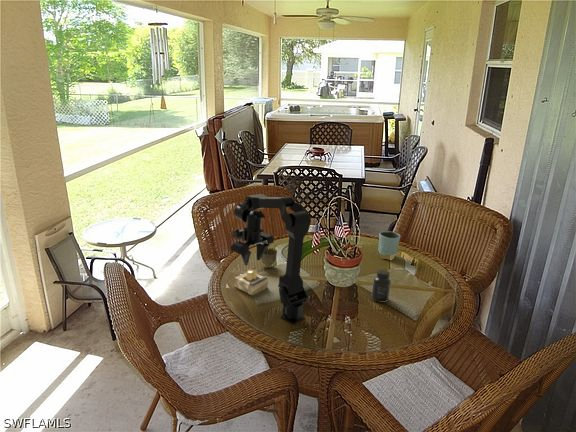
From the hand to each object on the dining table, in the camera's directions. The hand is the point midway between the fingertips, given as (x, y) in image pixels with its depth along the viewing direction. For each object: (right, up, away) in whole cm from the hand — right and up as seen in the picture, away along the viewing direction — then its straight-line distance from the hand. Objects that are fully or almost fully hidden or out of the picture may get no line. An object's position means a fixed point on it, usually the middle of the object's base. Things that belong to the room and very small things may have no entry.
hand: (252, 262), depth 167 cm
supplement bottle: (+51, -15, +2) cm, 53 cm away
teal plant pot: (+64, -2, +43) cm, 77 cm away
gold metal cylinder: (-1, -10, +4) cm, 11 cm away
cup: (+5, -5, +22) cm, 23 cm away
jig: (-1, -10, +4) cm, 11 cm away
